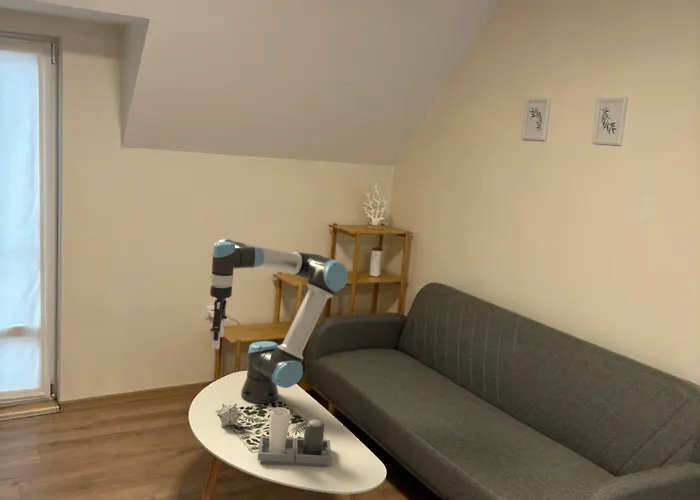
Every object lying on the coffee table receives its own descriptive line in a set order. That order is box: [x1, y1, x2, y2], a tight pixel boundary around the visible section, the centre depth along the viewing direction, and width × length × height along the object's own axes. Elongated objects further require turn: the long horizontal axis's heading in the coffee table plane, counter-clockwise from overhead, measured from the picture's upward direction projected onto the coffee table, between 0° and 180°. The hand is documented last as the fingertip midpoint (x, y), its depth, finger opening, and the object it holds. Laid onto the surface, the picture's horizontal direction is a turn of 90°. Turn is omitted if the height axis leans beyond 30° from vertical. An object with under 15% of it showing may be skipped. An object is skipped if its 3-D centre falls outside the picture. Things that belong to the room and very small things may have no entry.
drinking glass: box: [268, 407, 291, 453], centre depth 221 cm, size 7×7×15 cm
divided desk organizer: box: [257, 418, 333, 468], centre depth 222 cm, size 13×24×13 cm, turn 95°
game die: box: [216, 403, 242, 428], centre depth 240 cm, size 9×8×10 cm
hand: (217, 342), depth 235 cm, fingers open, 13 cm apart
